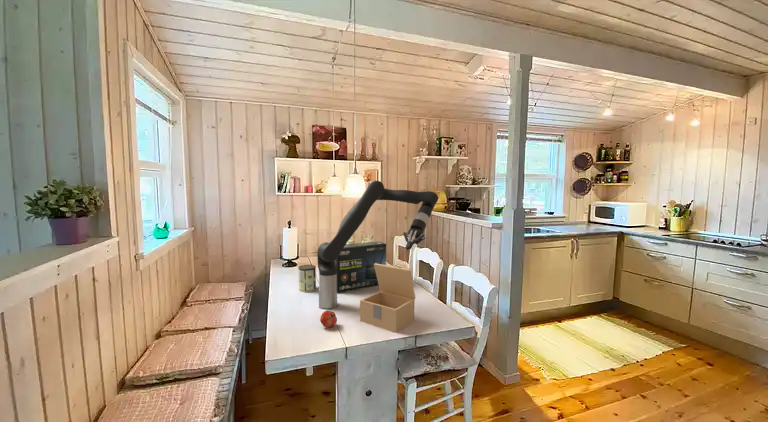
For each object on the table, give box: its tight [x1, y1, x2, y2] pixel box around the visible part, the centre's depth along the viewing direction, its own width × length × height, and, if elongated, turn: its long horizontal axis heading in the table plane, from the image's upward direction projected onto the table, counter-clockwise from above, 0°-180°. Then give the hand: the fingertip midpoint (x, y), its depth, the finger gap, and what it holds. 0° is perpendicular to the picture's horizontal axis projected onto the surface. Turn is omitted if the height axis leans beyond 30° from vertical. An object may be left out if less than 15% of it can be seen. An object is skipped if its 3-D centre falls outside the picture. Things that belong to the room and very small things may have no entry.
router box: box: [335, 240, 387, 294], centre depth 204 cm, size 36×11×27 cm, turn 123°
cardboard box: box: [359, 290, 416, 333], centre depth 153 cm, size 16×20×10 cm
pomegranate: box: [319, 310, 338, 329], centre depth 147 cm, size 7×7×10 cm
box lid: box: [374, 263, 416, 299], centre depth 157 cm, size 16×20×1 cm
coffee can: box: [297, 264, 317, 293], centre depth 198 cm, size 10×10×14 cm
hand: (407, 249), depth 166 cm, fingers closed
